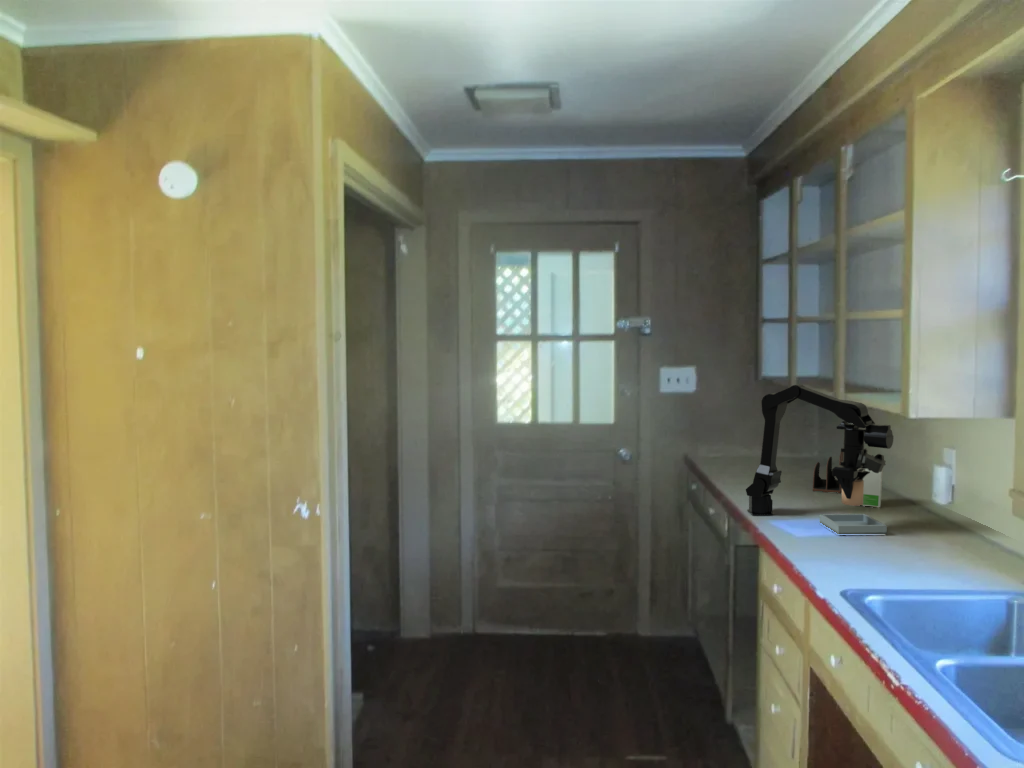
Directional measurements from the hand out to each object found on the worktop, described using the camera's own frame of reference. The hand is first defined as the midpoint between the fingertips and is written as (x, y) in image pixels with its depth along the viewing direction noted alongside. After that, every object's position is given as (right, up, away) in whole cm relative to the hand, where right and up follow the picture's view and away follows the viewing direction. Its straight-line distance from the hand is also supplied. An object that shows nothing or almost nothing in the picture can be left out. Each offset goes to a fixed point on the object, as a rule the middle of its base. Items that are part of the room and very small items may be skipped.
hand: (852, 496), depth 234 cm
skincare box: (+19, -8, +32) cm, 38 cm away
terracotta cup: (0, -2, 0) cm, 2 cm away
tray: (0, -10, +1) cm, 10 cm away
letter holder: (+18, -6, +61) cm, 64 cm away
